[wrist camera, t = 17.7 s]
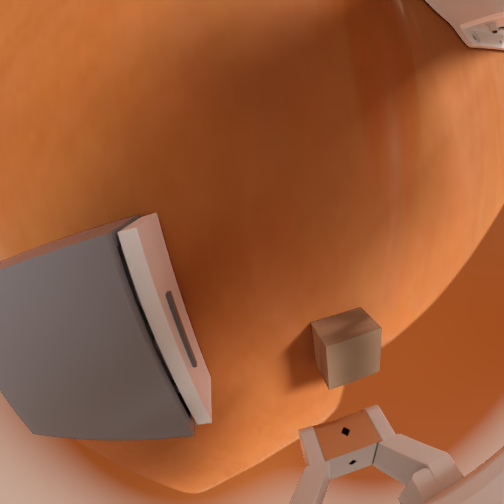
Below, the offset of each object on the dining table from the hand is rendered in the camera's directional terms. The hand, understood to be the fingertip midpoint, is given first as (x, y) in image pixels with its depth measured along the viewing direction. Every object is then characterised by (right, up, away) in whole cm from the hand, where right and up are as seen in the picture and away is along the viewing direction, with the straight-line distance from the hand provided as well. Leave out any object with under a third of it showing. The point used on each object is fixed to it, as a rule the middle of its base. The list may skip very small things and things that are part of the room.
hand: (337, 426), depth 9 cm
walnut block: (+5, -2, +17) cm, 18 cm away
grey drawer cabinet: (-19, 0, +13) cm, 23 cm away
